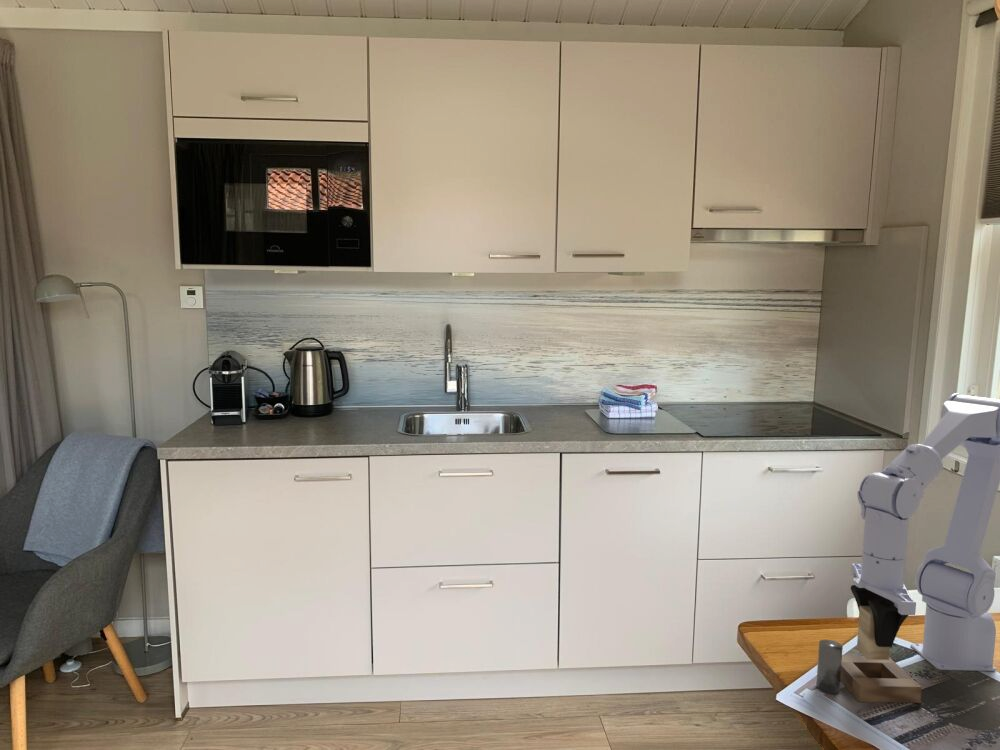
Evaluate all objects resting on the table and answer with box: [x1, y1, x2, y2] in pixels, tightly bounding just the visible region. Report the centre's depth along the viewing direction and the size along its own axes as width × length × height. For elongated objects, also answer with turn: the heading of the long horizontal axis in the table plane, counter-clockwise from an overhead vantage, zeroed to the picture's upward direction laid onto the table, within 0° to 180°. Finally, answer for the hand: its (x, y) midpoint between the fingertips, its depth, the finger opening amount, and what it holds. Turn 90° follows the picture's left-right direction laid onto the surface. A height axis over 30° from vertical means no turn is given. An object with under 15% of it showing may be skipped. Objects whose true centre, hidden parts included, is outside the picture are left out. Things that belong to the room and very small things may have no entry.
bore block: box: [840, 654, 923, 704], centre depth 107 cm, size 9×9×2 cm
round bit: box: [815, 639, 843, 695], centre depth 106 cm, size 3×3×7 cm
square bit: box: [856, 606, 891, 660], centre depth 106 cm, size 3×3×7 cm
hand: (877, 639), depth 106 cm, fingers closed on square bit, 3 cm apart
